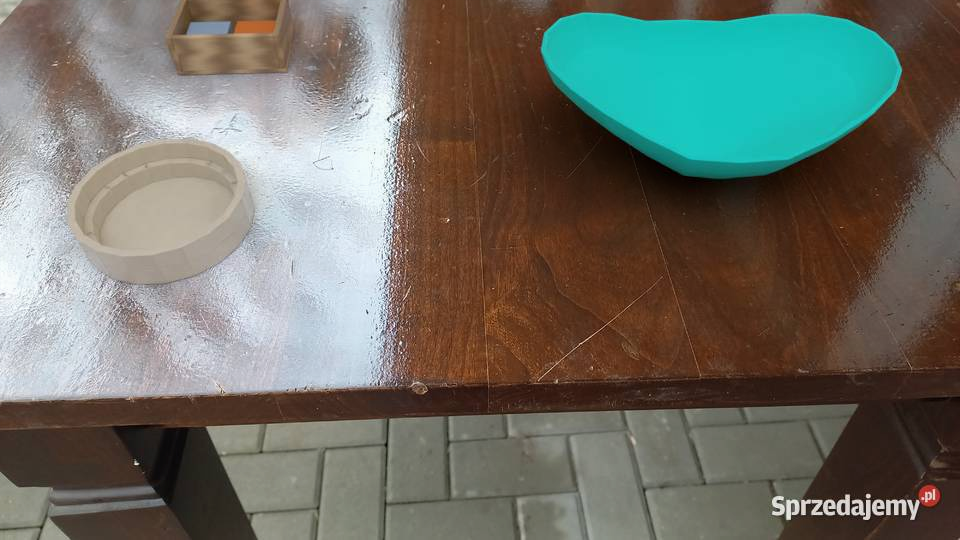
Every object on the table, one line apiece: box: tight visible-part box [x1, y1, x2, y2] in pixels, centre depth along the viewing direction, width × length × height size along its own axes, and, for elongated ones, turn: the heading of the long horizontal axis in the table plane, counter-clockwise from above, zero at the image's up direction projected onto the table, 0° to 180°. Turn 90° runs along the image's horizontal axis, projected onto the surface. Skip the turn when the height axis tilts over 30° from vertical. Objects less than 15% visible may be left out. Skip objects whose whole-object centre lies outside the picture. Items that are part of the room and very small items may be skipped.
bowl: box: [66, 138, 256, 286], centre depth 74 cm, size 18×18×5 cm
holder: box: [164, 0, 296, 76], centre depth 96 cm, size 15×11×6 cm
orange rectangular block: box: [234, 20, 276, 34], centre depth 96 cm, size 6×4×3 cm, turn 94°
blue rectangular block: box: [186, 22, 234, 35], centre depth 96 cm, size 6×4×3 cm, turn 94°
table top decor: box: [540, 12, 903, 180], centre depth 82 cm, size 40×28×13 cm
